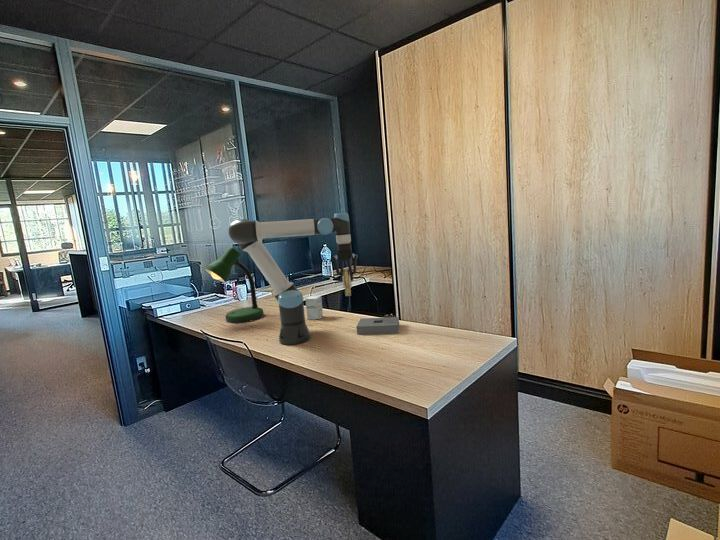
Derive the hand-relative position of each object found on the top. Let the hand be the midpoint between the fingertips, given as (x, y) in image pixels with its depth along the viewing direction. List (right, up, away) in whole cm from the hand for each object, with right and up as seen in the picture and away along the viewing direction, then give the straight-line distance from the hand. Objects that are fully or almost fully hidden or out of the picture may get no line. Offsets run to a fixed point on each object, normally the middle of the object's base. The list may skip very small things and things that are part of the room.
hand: (347, 287), depth 197 cm
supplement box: (-20, -19, +22) cm, 36 cm away
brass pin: (0, -4, +1) cm, 4 cm away
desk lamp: (-69, -22, +34) cm, 79 cm away
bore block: (+16, -21, -9) cm, 28 cm away
